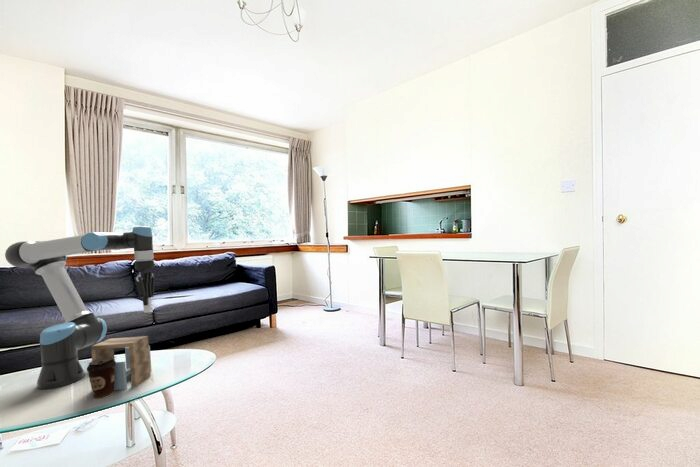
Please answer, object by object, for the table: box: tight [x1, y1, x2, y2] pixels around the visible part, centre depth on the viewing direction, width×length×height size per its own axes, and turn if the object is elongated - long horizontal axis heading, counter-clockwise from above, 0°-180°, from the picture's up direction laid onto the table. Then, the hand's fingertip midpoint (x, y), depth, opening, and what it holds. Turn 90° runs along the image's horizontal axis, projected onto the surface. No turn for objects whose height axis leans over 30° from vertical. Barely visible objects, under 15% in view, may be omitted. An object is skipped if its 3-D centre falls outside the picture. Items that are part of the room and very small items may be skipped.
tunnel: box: [90, 335, 152, 387], centre depth 137 cm, size 10×16×17 cm, turn 90°
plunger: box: [114, 345, 153, 391], centre depth 138 cm, size 18×11×11 cm, turn 0°
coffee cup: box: [86, 357, 117, 399], centre depth 125 cm, size 9×8×13 cm
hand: (147, 312), depth 156 cm, fingers closed
